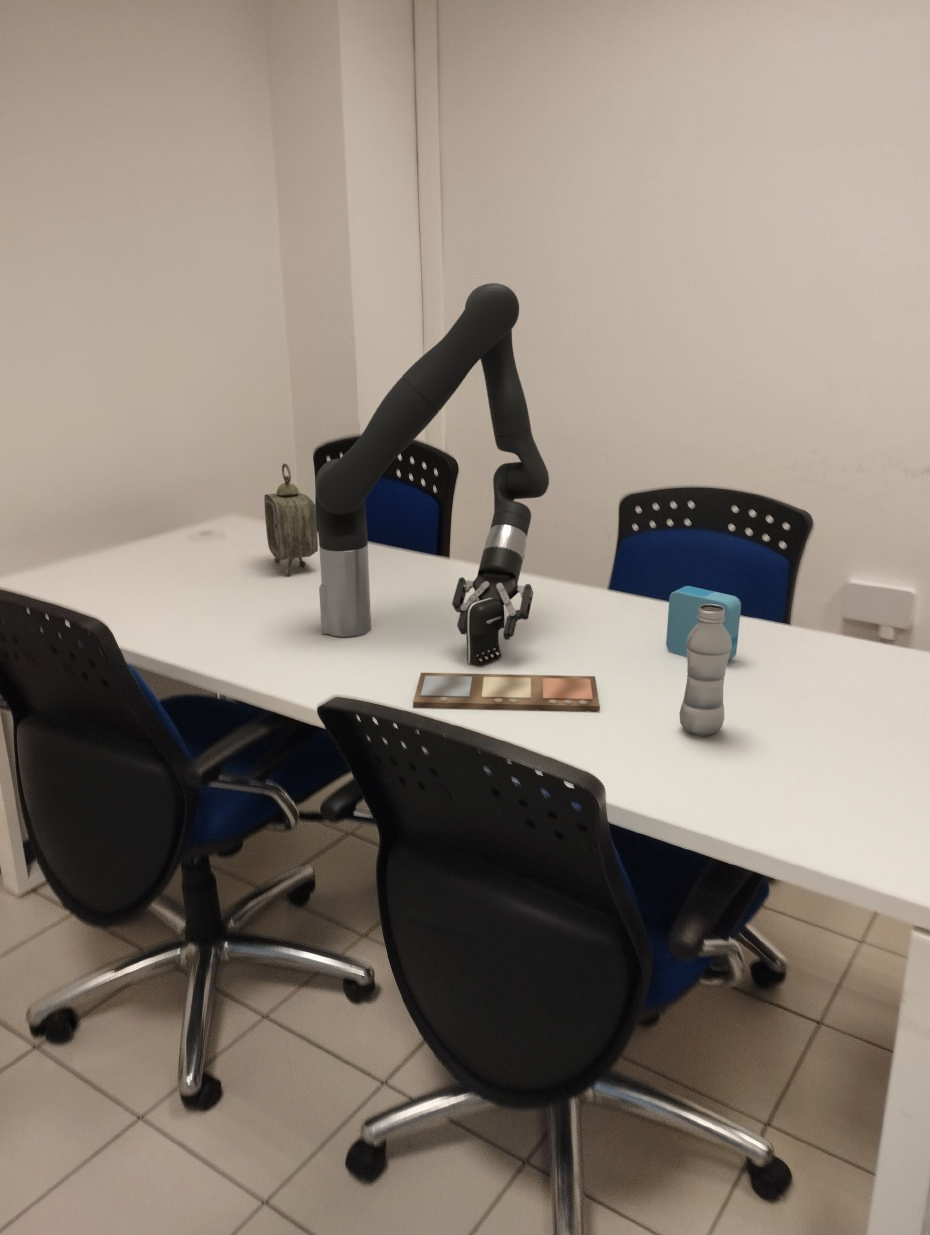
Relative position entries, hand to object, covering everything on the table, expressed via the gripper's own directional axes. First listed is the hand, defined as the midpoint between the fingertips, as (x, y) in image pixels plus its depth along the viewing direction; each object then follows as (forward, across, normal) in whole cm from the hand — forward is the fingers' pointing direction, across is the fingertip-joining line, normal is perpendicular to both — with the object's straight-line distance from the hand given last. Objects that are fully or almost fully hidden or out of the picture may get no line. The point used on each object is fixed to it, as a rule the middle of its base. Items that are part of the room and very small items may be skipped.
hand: (484, 635), depth 171 cm
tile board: (+12, +8, -4) cm, 14 cm away
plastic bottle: (+15, +40, -6) cm, 43 cm away
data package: (-7, +36, +16) cm, 40 cm away
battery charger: (+3, 0, +5) cm, 6 cm away
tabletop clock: (-26, -61, +34) cm, 74 cm away
